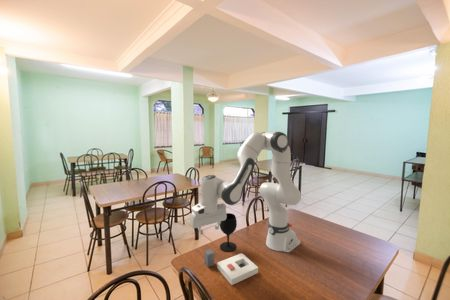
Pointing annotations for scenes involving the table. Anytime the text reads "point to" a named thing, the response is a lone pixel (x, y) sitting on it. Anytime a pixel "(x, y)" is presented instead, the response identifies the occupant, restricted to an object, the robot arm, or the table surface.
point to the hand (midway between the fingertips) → (209, 231)
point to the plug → (209, 257)
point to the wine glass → (228, 232)
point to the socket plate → (237, 268)
